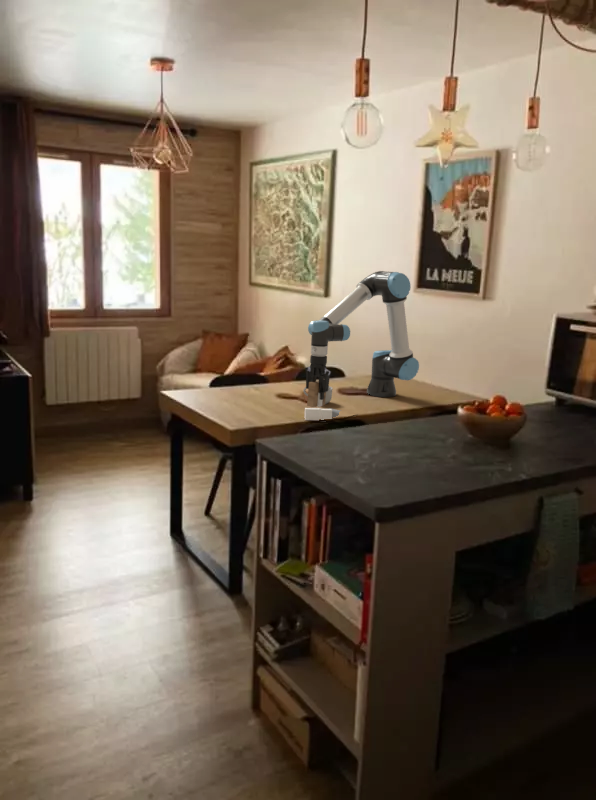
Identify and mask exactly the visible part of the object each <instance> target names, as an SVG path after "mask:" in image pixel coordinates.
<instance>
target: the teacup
mask: <svg viewBox="0 0 596 800" xmlns="http://www.w3.org/2000/svg"><path fill="white" fill-rule="evenodd" d="M333 389H334V388H333V386H330V385H329V387H328V391H327V392H326V398H325V405H327V404H329V403H330V402H331V401H332V398H333V397H332V396H333ZM306 390H308V389H307V388H306V386H305V387H304V388H303V394H304V395H305V396H306V397H308V392H306Z"/></svg>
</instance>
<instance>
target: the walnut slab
mask: <svg viewBox="0 0 596 800" xmlns="http://www.w3.org/2000/svg"><path fill="white" fill-rule="evenodd" d="M307 390H308V391H307V394H308V396H307V401H306V402H307V404H306V406H307V407H309V408H318V407H317V404H318V393H319V392H320V390H319V380H316V381H314V382H309V388H308V389H307ZM325 398H326V392H324V399H323V401H322V406H321V407H323V406H326V404H325Z"/></svg>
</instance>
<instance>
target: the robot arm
mask: <svg viewBox="0 0 596 800" xmlns="http://www.w3.org/2000/svg"><path fill="white" fill-rule="evenodd" d="M355 287H356V288H355V289H353V290H352V291H351V292H349V294H348V295H346V296H345V297H344V298H343V299H341V301H339V302H338V303H337V304H336V305H334V307H333V308H331V309H330V310H329V311H328V312H327V313H325V315H323V316H322V317H320V318H319V319H318V320H317V319H316V320H312V321H310V322H309V324H308V327H307V330H308V333H309V335H310V336H311V338H310V341H311V343H310V354H311V355H310V357H309V358H310V360H309V362H310V365H309V366H306V367H305V368H304V370H305V387H306V388H307V389H306V390H308V388H309V382H314V381H317V379H318V381H319V390H320V392H319V393H318V404H317V407H316V408H321V407H323V406H322V401H323V399H324V392H327V391H328V387H329V386H330V378H331V377H330V376H331V374H332V371H331V370H329V369H327V363H328V356H327V355H328V347H329V342H345V341H347V340H349V338H351V329H350V326H349V325H347V324H343V323H341V322H342V321H344V320H345V319H346V318H347V317H348V316H350V315H351V314H352V313H353V312H354V311H356V309H357V308H358V307H360V306H361V305H362V304H363V303H364V302H366V301H370V300H371V299H372V298H374V297H376V296H381V298H382V299H381V300H382V303H383V304H384V305H385V306H386V313H387V314H386V315H387V322H388V323H387V324H388V330H389V339H390V345H391V346H390V347H391V349H389V350H387V349H386V350H375V351H373V353H372V358H371V359H372V361H371V375H370V376H371V378H370V380H369V384H368V386H367V389H366V394H367V393H368V394H367V395H369V394H370V395H369V396H372V397H378V398H393V397H395V396H396V395H397V390H396V389H397V388H396V384H395V381H394V380H395V379H399V380H401V381H411V380H412V379H414V378H415V377H416V376H417V374H418V373H419V370H420V369H419V368H420V362H419V360H418V359H417V358H416V357H414V352H413V350H412V349H410V346H409V345H410V344H409V335H408V327H407V326H408V325H407V318H406V317H407V316H406V308H405V302H406V300H407V297H408V295H409V293H410V291H411V281H410V278H409V277H408V276H407V275H406V274H404V273H402V272H399V271H384V270H379V271H375V272H373V273H370V274H369V275H367V276H366V277H365V278H363V279H361V281H359V282H358V283H357V284H356V286H355Z"/></svg>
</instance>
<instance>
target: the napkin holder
mask: <svg viewBox="0 0 596 800" xmlns="http://www.w3.org/2000/svg"><path fill="white" fill-rule="evenodd" d="M332 409H333V408H331V409H328V408H322V407H304V418H305V419H304V420H305V421H319V419H321V420H324V419H333V418H332Z"/></svg>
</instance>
